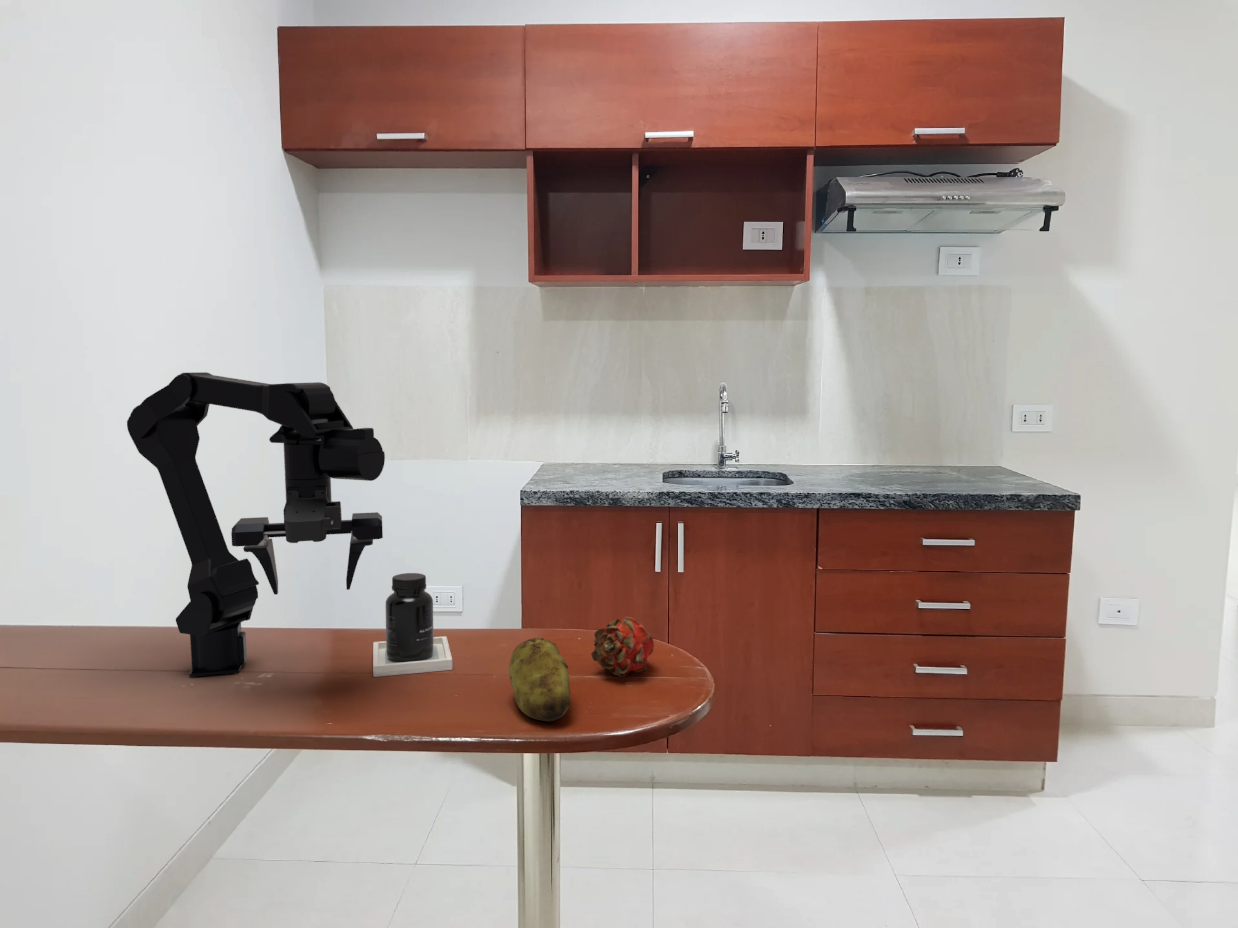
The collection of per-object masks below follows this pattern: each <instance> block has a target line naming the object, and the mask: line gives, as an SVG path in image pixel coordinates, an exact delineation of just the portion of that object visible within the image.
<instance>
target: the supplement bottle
mask: <svg viewBox="0 0 1238 928" xmlns="http://www.w3.org/2000/svg"><path fill="white" fill-rule="evenodd" d="M391 579H392V580H391V581H392V582H391V584H392V585H391V590H392V591H393V593H391V594H389V596H388V597H387V598H386V600H385V641H386V653H387V656H388V658H389V659H391V660H393V661H397V662H413V661H421V660H424V659H427V658H429V657H430V656H431V655H432V653H433V637H434V600H433V597H432V595H431V594H430V593H429V592H428V591H425V590H426V589H427V577H426V575H425V574H423V573H419V572H418V573H417V572H409V573H408V572H406V573H400V574H399V573H398V574H396V575H393V576H392V578H391Z"/></svg>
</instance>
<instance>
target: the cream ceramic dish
mask: <svg viewBox="0 0 1238 928" xmlns="http://www.w3.org/2000/svg"><path fill="white" fill-rule="evenodd" d="M447 637H448V636H433V653H432V655H431V656H430V657H429V658H427V659H424V660H421V661H413V662H397V661H393V660H391V659H389V658H388V656H387V653H386V640H384V641H383V640H382V641H381V640H380V641H373V645H372V646H373V648H372V649H373V651H372V652H373V656H372V657H373V658H372V659H373V661H372V663H373V664H372V666H373V667H372V670H373V672H372V673H373V678H378V677H387V676H389V677H391V676H398V675H411V674H412V675H413V674H420V673H431V672H439V671H440V672H441V671H443V672H444V671H453V657H452V653H451V650H450V645H449V642H448V638H447Z"/></svg>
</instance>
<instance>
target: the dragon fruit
mask: <svg viewBox="0 0 1238 928" xmlns="http://www.w3.org/2000/svg"><path fill="white" fill-rule="evenodd" d="M594 638H595V639H594V640H593V641H594V644H593V646H594V647H595V648H594V649H593V651H592V652H591V653H590V655H591V659H592V660H593V661H596V662H598V663H599V665H600V666H601V668H604V669H608V670H609V672H610V673H611V674H613V675H615V676H617V677H620V678H624V677H626V676H627V675H628V674H629V673H630V672H631V671H632V672H634V673H639V672H642V673H644V672H645V671H646V670H647V668H648V658H649V657H650V656H651V655H652V654H653V652H654V647H655V644H654V643H655V642H654V639H653V637H652V636H651V634H650V633H649V631H648V630H647V629H646V628H645V627H644V625H643V624H642V623H640V622H639V621H638V620H637V619H636V618H634V617H633V616H632V617H631V616H624V617H623V618H622V619H619V618H616V619H614V620H612V621H610V622H609V623H607V624H606V627H605V628H601V629H598V630H595V632H594Z"/></svg>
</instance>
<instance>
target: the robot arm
mask: <svg viewBox="0 0 1238 928" xmlns="http://www.w3.org/2000/svg"><path fill="white" fill-rule="evenodd" d="M210 405H213V406H214V405H215V406H219V407H225V408H226V407H227V408H231V409H235V410H236V409H238V410H242V411H243V410H244V411H249V412H255V413H257V414H260V415H263V416H264V417H265V418H266V419H267V420H268V421H270V422H274V423H276V424H278V425H280V426H279V429H278V430H277V431H276V432H275V433H273V434H272V435H271V436H270V437H269V439H268V440H269V442H270V443H273V444H283V458H284V483H285V484H284V485H285V486H284V487H285V503H284V504H285V505H284V508H283V522H273V523H270V521H269V517H268V516H264V517H260V516H259V517H243V518H240V519H239V520H238V521H237V522H236V523H235V524H234V525H233V527H231V533H230V534H231V535H230V537H231V546H232V547H243V548H242V549H243V552H244V553H251V554H253V556H254V557H255V558H256V559H257V560H258V562H259V563H260V565H261V567H262V570H263V572H264V573H265V576H266V578H267V581H268V583H269V586H270V588H271V590H272V593H273V595H278V594H279V579H278V571H277V563H276V557H275V550H274V542H273V538H284V537H285V541H286V542H287V543H290V544H298V543H300V542H314V543H318V542H322V541H325V540H326V539H327V535H328V536H329V535H345V534H346V535H348V534H350V543H349V548H348V549H349V550H348V551H349V552H348V558H347V559H348V560H347V568H346V571H347V572H346V578H345V579H346V580H345V581H346V582H345V583H346V584H345V585H346V590H351V586H352V582H353V580H354V579H353V578H354V576H355V572H356V569H357V565H358V562H359V560H360V558H361V555H362V554H363V552H364V550H365V547H368V546H373V544H374V540H380V539H383V537H384V535H383V533H384V532H383V516H382V515H381V514H380V513H379V512H376V511H375V512H358V513H357V512H355V513H352V516H351V519H342V505H341V504H342V502H341V501H340V500H339V501H332V482H331V481H332V480H331V479H334V480H335V479H336V480H351V481H352V480H354V481H366V482H367V481H369V482H371V481H375V480H376V479H378V478H379V476H380V475H382V472H383V470H384V467H385V462H386V461H385V459H386V454H385V451H384V449H383V446H382V445H381V443H380V441H379V440H378V439H377V437H375V431H374V428H373V427H361V428H354V427H353V426H352V424H351V422H350V421H349V419H348V418H347V416H346V414H345V413H344V412H343V410H342V409H341V407H340V405H339V404H338V402H337V401H336V399H335V395H334V393H333V391H332V389H331V387H330V385H328V384H326V383H323V382H291V383H290V382H288V383H287V382H286V383H267V382H266V383H265V382H260V381H255V380H254V381H252V380H247V379H240V378H233V377H227V376H221V375H215V374H211V373H210V372H207V371H206V372H205V371H204V372H202V371H201V372H182V373H180V374H178V375H176V376H174V378H173V379H172V380H171V381H170V382H169V383H168V384H167V385H166V386H164V387H162V388H161V389H158V390H157V391H156V392H154V393H152V394H150V395H149V396H148V397H146V398H145V399H144V400H142V401H141V403H140V404H138V405H137V406H135V407H133V409H132V411H131V412H130V415H129V417H128V419H127V420H126V426H127V428H126V429H127V432H128V434H129V436H130V438H131V440H132V442H133V444H134V446H135V447H136V450H137V452H138V453H139V454H140V455H141V456H142V457H143V458H144V459H145V460H147V461H148V462H149V463H151V464H152V466H154V467H155V469H157V471H158V474H159V476H160V477H159V478H160V479H161V482H162V484H163V487H164V490H165V493H166V495H167V498H168V502H169V504H170V507H171V510H172V513H173V515H174V518H175V521H176V523H177V527H178V530H179V532H180V534H181V537H182V540H183V542H184V545H185V549H186V551H187V555H188V557H189V559H190V562H191V569H190V572H189V577H188V579H187V580H188V581H187V587H186V588H187V592H188V596H189V599H190V601H189V602H188V603H187V605H186V606H185V607H184V608H183V609H182V611H181V612H180V613H179V614H178V615H177V617H175V623H176V625H177V628H178V631H179V634H182V635H183V634H184V635H189V641H190V643H189V644H190V657H191V669H190V671H189V672H188V677H190V678H192V677H205V676H206V677H207V676H214V675H215V676H216V675H226V674H237V673H240V671H241V669H242V667H243V666H244V664H245V663H246V661H247V659H248V655H247V654H248V651H247V650H248V649H247V634H246V633H247V632H245V631H242V622H244V621H250V620H251V617H252V613H253V609H254V607H255V605H256V601H257V599H259V592H258V587H257V586H259V584H260V583H259V581H258V580H257V578H256V577H255V575H254V572H253V568H252V563H251V561H250V560H249V559H248V558H243V559H240V560H239V559H238V558H237V557H235V555H233V554H232V553H231V552H230V551H229V548H228V546H227V544H226V540H225V538H224V533H223V531H222V529H221V526H220V523H219V521H218V519H217V514H216V512H215V510H214V507H213V504H212V502H211V501H212V500H211V499H210V496H209V493H208V491H207V488H206V485H205V483H204V479H203V477H202V474H201V470H200V468H199V465H198V463H197V459H196V456H197V452H198V447H199V443H200V439H201V438H200V433H199V428H198V426H199V425H200V424H201V422H202V421H204V420H205V418H207V416H208V413H209V408H210Z"/></svg>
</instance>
